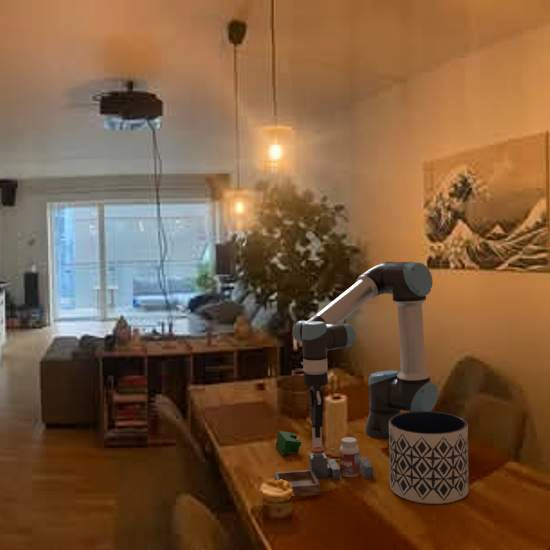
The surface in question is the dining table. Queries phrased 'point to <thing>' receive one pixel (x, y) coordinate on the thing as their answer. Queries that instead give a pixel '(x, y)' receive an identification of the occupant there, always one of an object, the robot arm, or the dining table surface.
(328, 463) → the socket
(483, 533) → the dining table surface
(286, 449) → the clamp
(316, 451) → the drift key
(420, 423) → the planter
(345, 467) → the pill bottle
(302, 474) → the tray
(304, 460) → the dining table surface
